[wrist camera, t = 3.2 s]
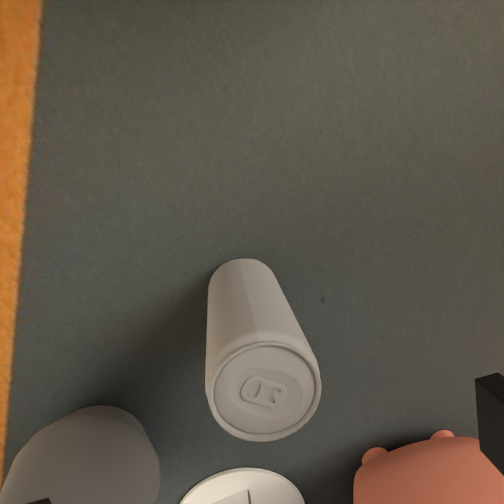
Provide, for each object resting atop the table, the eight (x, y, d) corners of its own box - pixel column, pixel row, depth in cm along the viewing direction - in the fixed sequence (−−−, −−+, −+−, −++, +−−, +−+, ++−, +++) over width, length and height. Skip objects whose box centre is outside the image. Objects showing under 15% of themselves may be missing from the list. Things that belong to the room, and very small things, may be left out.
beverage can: (260, 327, 27) (294, 457, 16) (198, 306, 26) (186, 427, 15) (287, 269, 26) (345, 361, 15) (223, 244, 25) (232, 322, 14)
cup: (58, 368, 26) (-32, 492, 17) (183, 402, 28) (168, 532, 18) (24, 472, 28) (-72, 637, 19) (144, 498, 30) (112, 661, 20)
